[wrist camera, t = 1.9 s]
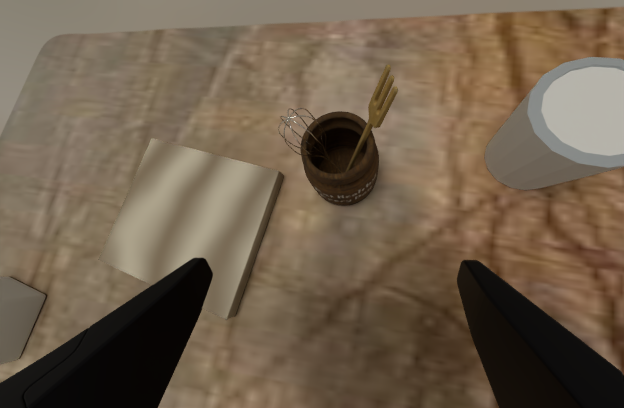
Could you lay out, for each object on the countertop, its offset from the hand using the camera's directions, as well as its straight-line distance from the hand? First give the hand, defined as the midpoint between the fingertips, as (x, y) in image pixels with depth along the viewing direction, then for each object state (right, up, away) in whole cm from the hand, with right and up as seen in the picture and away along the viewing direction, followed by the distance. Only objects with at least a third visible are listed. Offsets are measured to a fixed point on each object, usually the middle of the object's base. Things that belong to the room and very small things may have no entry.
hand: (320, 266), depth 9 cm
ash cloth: (-13, +1, +17) cm, 21 cm away
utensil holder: (+3, +5, +15) cm, 16 cm away
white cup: (+17, +6, +12) cm, 22 cm away
